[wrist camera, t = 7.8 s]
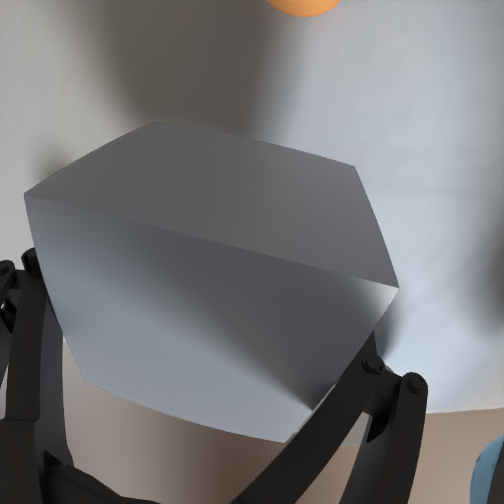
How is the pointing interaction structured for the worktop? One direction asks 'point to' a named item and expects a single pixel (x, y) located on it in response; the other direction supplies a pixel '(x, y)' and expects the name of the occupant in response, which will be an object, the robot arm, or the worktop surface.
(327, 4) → the ball
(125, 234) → the matte grey cuboid
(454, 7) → the worktop surface
